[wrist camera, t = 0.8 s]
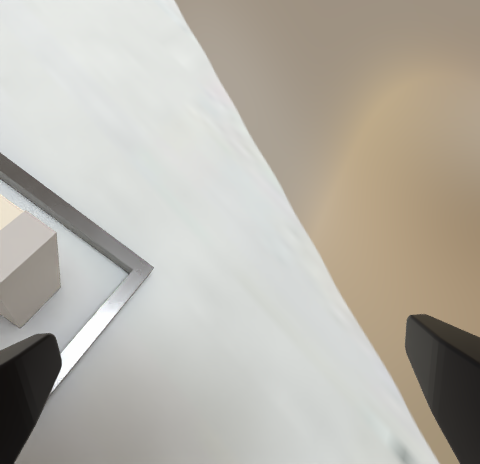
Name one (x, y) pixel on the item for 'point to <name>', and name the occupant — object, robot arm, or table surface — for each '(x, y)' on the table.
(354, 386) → the table surface
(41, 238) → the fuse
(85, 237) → the holder frame
